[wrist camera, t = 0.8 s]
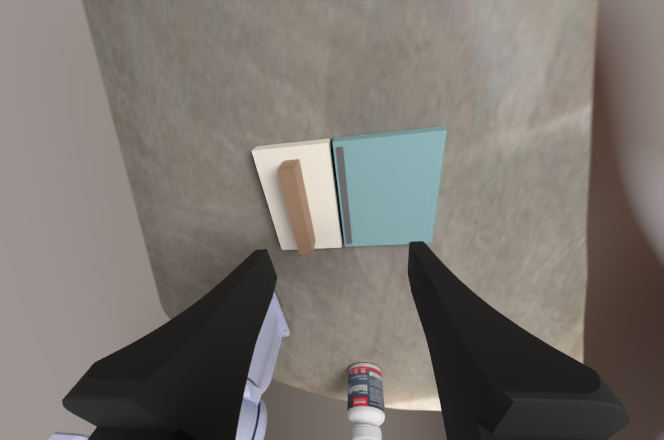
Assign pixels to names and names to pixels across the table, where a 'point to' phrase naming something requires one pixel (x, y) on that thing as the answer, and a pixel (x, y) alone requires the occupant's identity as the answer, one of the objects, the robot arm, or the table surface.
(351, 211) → the teal flat block
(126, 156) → the table surface
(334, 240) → the cream block with bar
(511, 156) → the table surface
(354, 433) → the pill bottle
